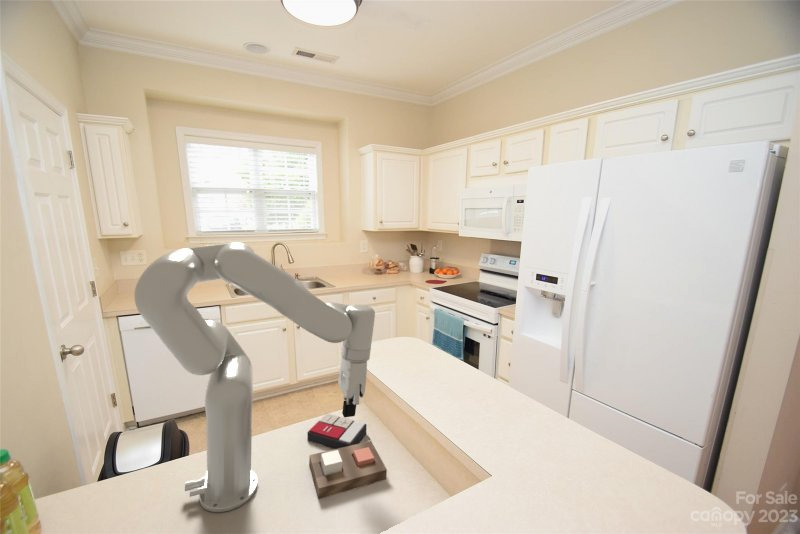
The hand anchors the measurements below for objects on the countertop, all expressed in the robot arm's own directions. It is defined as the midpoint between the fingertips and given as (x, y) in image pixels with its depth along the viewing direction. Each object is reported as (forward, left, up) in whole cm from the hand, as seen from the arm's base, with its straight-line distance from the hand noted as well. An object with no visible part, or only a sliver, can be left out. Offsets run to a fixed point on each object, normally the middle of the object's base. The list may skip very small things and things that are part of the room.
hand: (348, 415), depth 91 cm
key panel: (0, -3, -15) cm, 15 cm away
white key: (-5, -3, -13) cm, 14 cm away
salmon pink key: (+4, -3, -15) cm, 16 cm away
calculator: (+1, +12, -16) cm, 20 cm away
